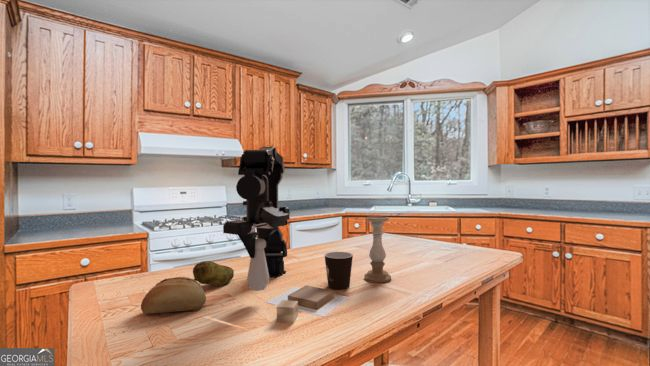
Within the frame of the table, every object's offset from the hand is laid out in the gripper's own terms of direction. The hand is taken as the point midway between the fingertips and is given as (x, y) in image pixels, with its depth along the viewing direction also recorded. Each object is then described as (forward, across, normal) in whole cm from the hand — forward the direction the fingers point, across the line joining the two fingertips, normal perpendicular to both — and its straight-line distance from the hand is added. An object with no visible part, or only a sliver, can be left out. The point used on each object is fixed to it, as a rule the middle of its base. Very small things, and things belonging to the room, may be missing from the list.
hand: (258, 256), depth 83 cm
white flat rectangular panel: (+13, +8, -10) cm, 18 cm away
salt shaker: (+9, 0, 0) cm, 9 cm away
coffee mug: (+13, +23, -12) cm, 29 cm away
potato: (+13, +5, +23) cm, 27 cm away
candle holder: (+13, +35, -20) cm, 43 cm away
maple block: (+13, -4, -12) cm, 18 cm away
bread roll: (+13, -13, +16) cm, 25 cm away
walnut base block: (+12, +8, -11) cm, 19 cm away
